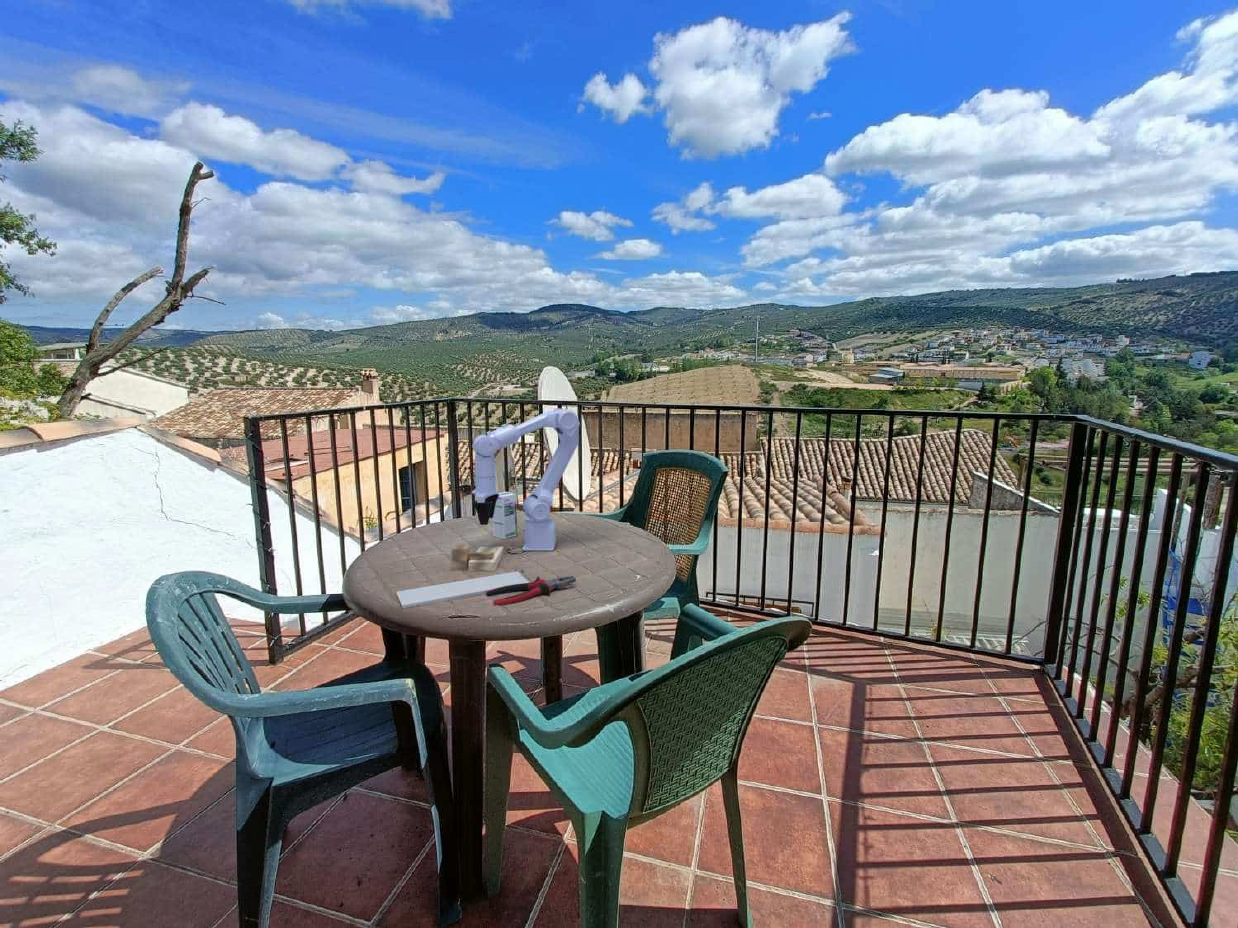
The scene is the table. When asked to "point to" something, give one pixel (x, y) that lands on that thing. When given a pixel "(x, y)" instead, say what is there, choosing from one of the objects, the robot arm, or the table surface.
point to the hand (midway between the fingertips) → (486, 521)
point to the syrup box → (505, 516)
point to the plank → (486, 559)
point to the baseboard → (458, 589)
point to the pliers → (536, 588)
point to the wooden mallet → (466, 556)
